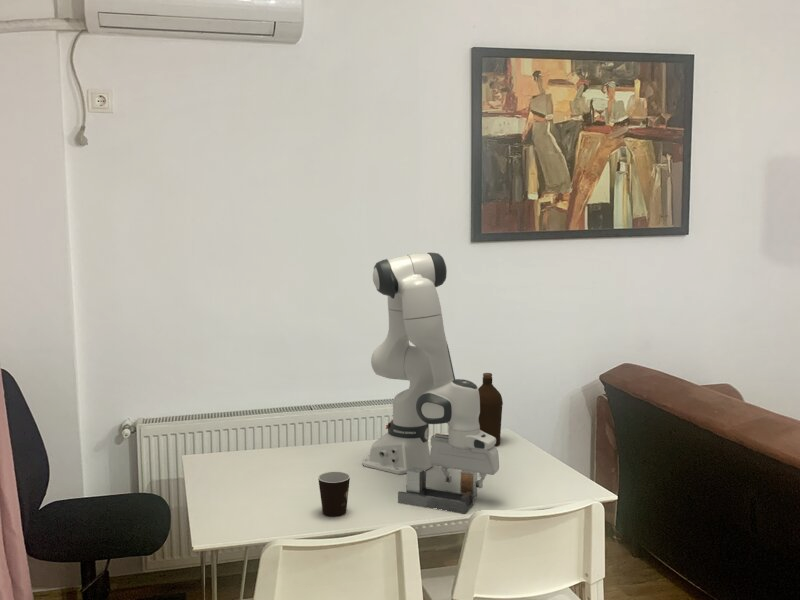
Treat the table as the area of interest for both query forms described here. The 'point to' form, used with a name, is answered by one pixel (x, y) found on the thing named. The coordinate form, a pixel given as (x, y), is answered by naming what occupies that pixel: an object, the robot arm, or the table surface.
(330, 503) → the coffee mug
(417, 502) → the rail
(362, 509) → the table surface
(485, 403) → the olive oil
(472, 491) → the finger
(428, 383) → the robot arm
